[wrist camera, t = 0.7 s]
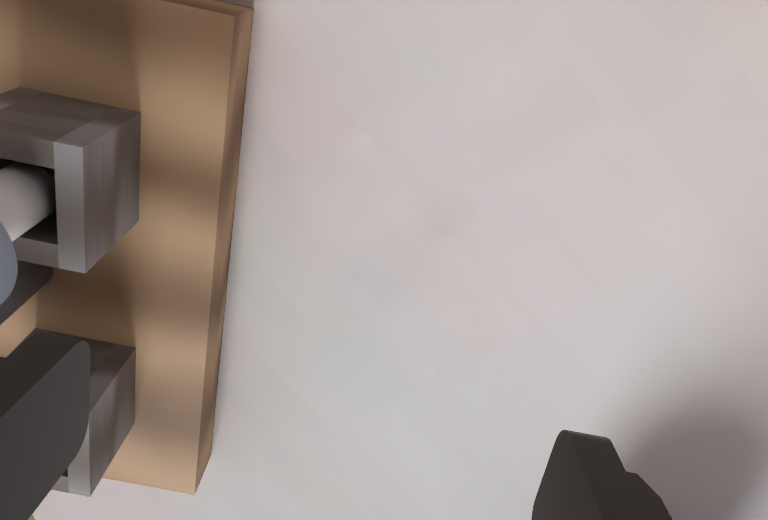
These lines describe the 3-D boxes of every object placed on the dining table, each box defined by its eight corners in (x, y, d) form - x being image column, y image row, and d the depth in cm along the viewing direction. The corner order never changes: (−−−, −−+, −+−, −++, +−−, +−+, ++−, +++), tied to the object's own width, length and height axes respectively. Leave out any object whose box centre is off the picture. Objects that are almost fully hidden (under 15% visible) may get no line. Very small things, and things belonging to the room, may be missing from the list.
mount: (-31, -53, 26) (-199, -51, 19) (253, 8, 27) (191, 33, 20) (13, 419, 38) (-82, 529, 31) (210, 456, 39) (161, 573, 32)
